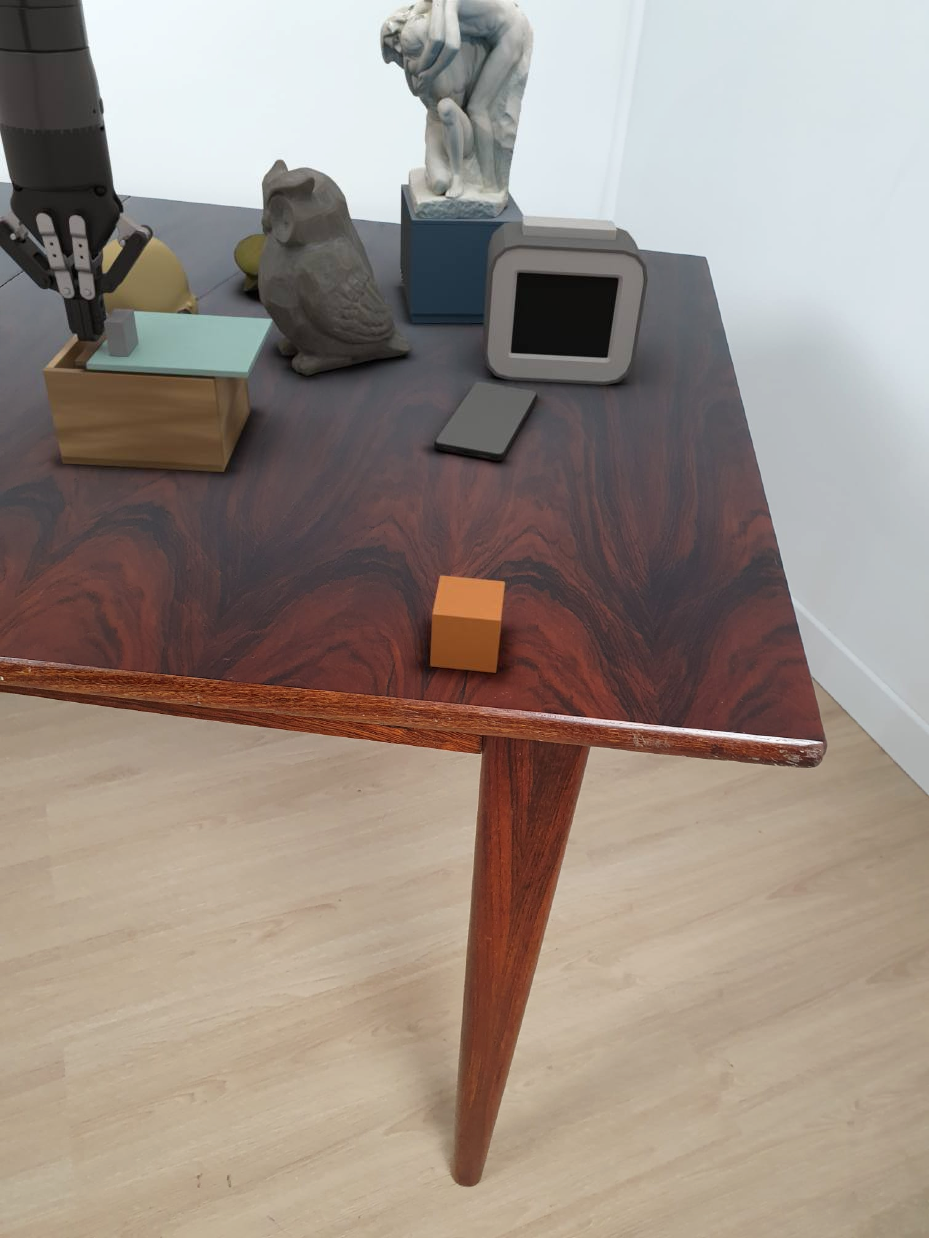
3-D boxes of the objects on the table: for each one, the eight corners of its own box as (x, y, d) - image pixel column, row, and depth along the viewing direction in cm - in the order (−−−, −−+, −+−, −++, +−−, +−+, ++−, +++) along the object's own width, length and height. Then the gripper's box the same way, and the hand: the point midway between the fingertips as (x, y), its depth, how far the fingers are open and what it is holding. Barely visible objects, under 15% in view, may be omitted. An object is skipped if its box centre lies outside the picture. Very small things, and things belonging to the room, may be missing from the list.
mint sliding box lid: (247, 378, 82) (244, 337, 80) (75, 369, 82) (67, 327, 80) (273, 325, 92) (270, 286, 90) (120, 316, 92) (113, 277, 90)
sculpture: (385, 324, 119) (385, -19, 97) (377, 280, 131) (376, -32, 110) (522, 324, 121) (552, -11, 100) (502, 281, 134) (524, -25, 112)
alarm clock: (482, 378, 107) (492, 231, 98) (481, 340, 116) (490, 202, 107) (630, 386, 108) (654, 240, 98) (618, 347, 117) (638, 210, 107)
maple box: (223, 472, 88) (213, 380, 83) (62, 463, 88) (42, 370, 82) (250, 412, 98) (242, 326, 92) (105, 404, 97) (89, 317, 92)
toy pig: (151, 375, 112) (215, 315, 109) (62, 297, 105) (128, 231, 102) (161, 339, 120) (222, 282, 116) (79, 265, 113) (141, 202, 109)
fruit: (207, 283, 127) (201, 230, 123) (284, 266, 134) (281, 216, 130) (255, 308, 121) (251, 254, 117) (334, 290, 127) (333, 238, 123)
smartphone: (432, 442, 93) (476, 380, 104) (432, 451, 93) (475, 388, 105) (502, 455, 91) (539, 391, 103) (502, 464, 92) (538, 399, 103)
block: (430, 666, 68) (432, 613, 65) (437, 626, 71) (440, 574, 69) (496, 673, 68) (501, 620, 65) (500, 632, 71) (505, 581, 68)
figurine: (254, 337, 113) (239, 150, 101) (389, 327, 118) (389, 147, 106) (276, 387, 103) (262, 184, 91) (423, 373, 107) (428, 179, 95)
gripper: (-61, 119, 70) (-4, 350, 81) (124, 130, 71) (157, 360, 81) (-19, 100, 76) (29, 318, 87) (152, 110, 77) (179, 326, 87)
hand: (91, 338), depth 84 cm, fingers closed
